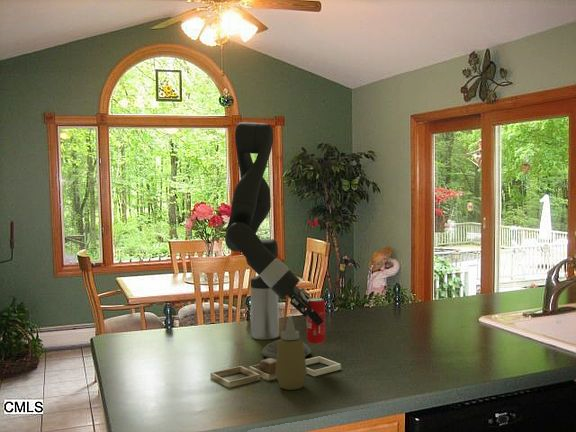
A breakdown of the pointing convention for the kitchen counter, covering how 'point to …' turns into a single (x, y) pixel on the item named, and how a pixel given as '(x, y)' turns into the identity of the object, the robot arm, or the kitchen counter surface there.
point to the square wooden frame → (262, 373)
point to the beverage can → (313, 331)
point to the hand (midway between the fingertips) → (322, 320)
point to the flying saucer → (271, 350)
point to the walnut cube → (268, 365)
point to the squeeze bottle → (290, 358)
